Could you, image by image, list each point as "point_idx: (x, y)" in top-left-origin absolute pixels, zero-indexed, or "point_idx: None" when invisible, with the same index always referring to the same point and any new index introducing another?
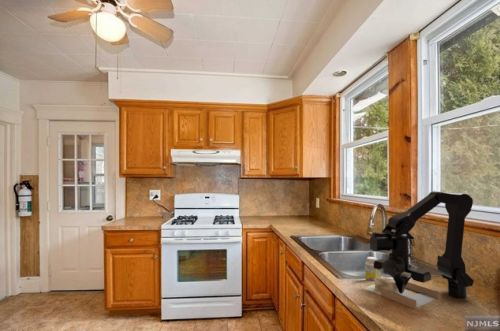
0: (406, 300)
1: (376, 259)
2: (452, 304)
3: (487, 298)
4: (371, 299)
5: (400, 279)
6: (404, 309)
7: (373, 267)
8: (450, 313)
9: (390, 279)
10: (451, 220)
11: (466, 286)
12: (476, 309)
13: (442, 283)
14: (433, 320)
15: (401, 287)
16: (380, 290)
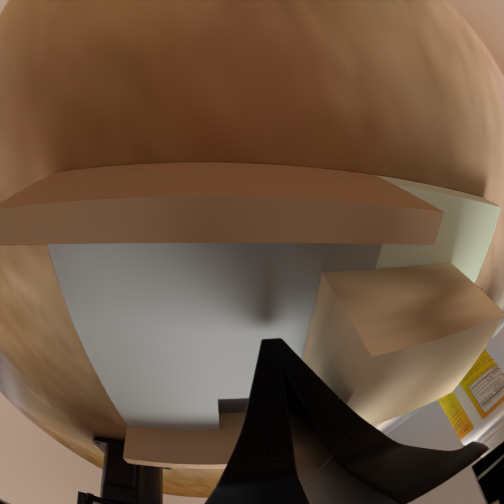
0: (83, 190)
1: (485, 454)
2: (98, 420)
3: None
4: (422, 111)
5: (278, 489)
6: (137, 154)
7: (488, 407)
8: (25, 348)
9: (399, 411)
10: None
11: (79, 493)
12: (54, 421)
13: None
14: None
15: (261, 390)
16: (423, 269)
